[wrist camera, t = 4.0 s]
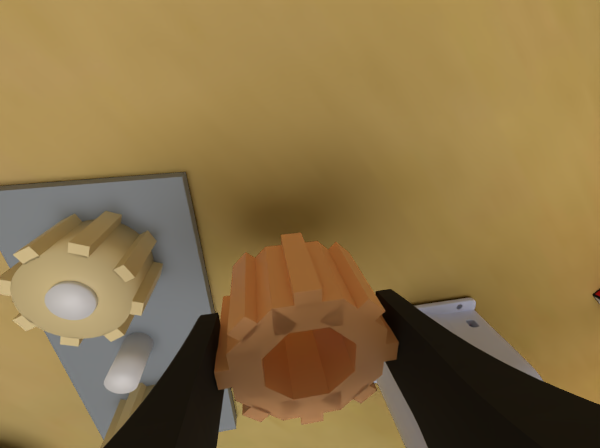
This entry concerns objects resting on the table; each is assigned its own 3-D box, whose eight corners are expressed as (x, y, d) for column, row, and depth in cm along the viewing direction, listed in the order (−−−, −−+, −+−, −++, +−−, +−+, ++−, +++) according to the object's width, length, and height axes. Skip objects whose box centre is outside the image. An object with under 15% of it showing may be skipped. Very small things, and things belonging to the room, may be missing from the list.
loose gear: (363, 225, 12) (407, 277, 8) (357, 335, 14) (389, 407, 11) (213, 242, 11) (198, 305, 8) (234, 354, 13) (229, 438, 10)
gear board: (185, 171, 16) (162, 201, 12) (236, 416, 26) (234, 484, 21) (-15, 187, 15) (-122, 226, 11) (115, 439, 24) (86, 515, 20)
